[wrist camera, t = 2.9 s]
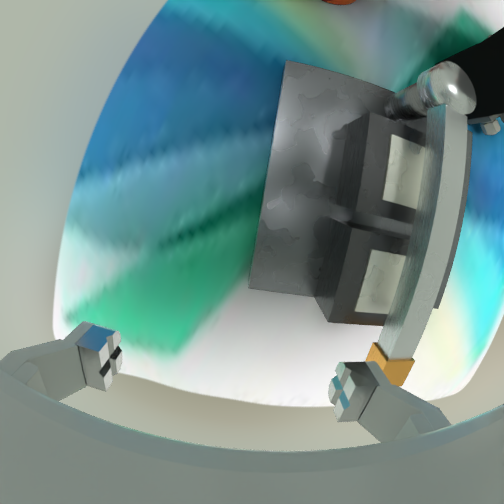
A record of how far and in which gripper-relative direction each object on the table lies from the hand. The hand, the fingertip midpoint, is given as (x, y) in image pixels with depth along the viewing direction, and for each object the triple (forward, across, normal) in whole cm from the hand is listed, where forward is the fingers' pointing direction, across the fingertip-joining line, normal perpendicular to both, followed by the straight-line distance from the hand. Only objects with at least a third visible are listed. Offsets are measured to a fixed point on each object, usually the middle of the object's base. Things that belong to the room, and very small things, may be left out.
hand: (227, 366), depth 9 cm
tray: (+12, -10, -8) cm, 17 cm away
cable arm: (+5, -10, -6) cm, 13 cm away
